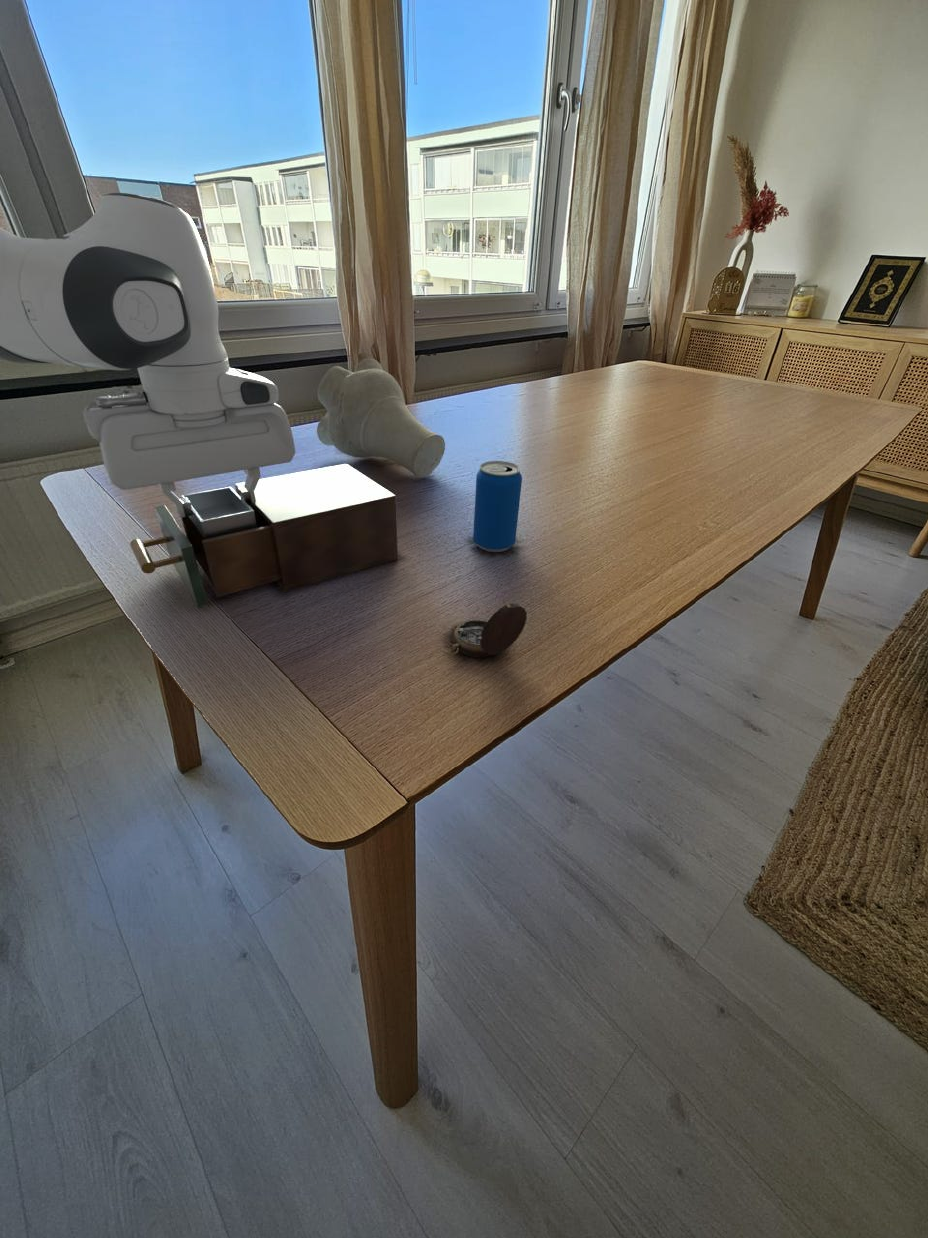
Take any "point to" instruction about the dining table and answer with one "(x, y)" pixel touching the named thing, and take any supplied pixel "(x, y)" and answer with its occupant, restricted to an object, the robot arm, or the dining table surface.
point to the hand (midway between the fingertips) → (218, 508)
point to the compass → (489, 632)
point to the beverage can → (496, 505)
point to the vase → (375, 419)
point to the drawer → (213, 556)
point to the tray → (220, 512)
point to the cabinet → (327, 523)
